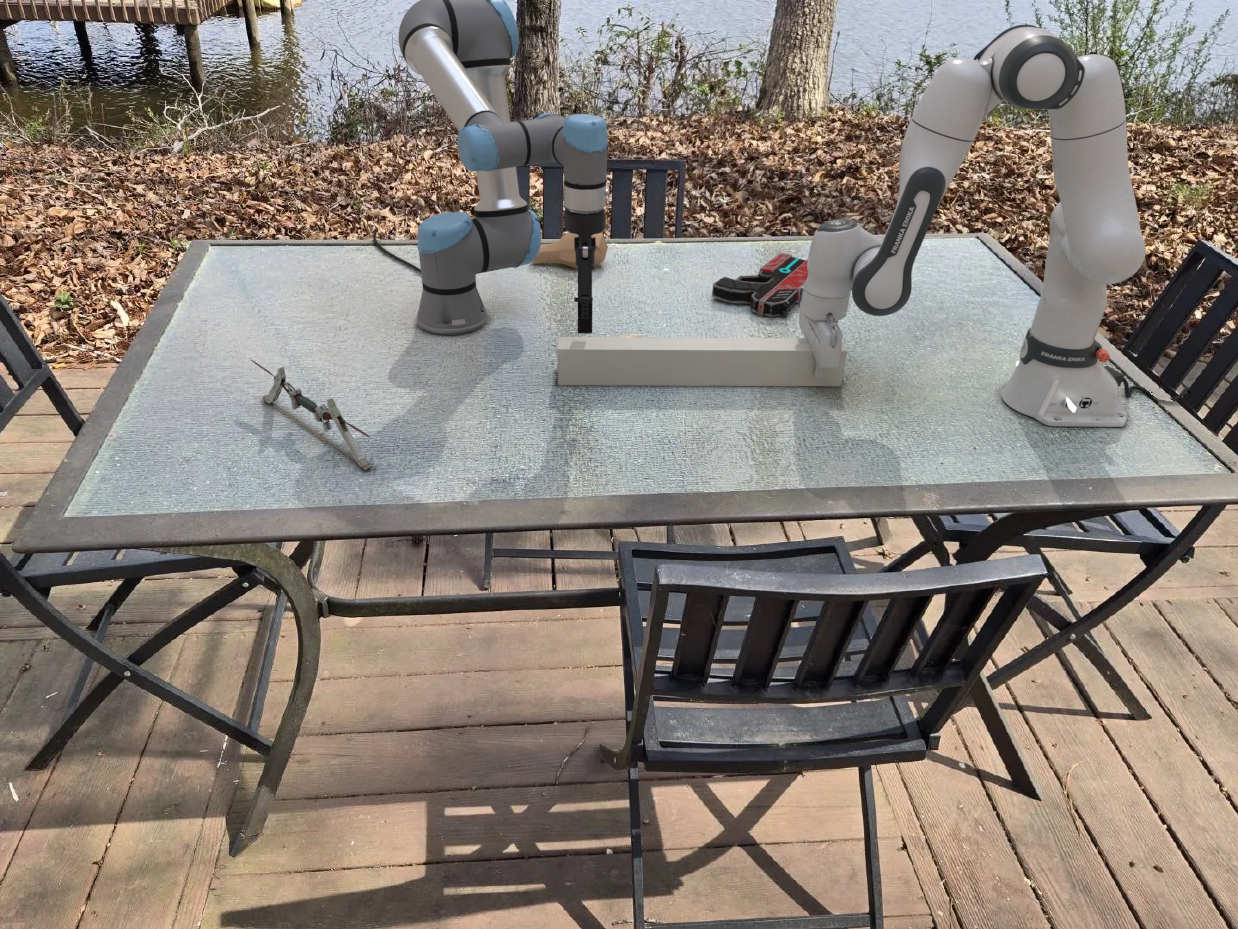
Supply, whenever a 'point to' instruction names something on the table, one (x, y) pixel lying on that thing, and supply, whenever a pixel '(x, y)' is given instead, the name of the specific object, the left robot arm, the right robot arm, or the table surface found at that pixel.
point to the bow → (316, 413)
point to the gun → (766, 286)
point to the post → (691, 362)
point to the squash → (569, 251)
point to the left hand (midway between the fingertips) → (584, 317)
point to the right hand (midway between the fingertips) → (814, 367)
